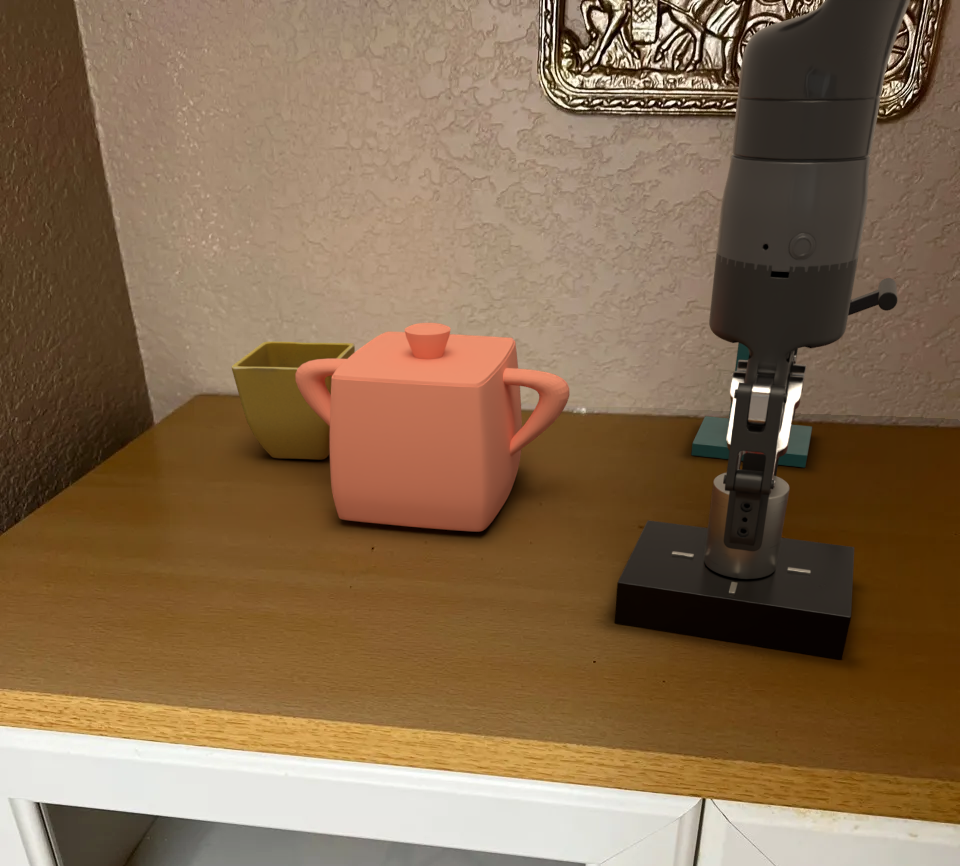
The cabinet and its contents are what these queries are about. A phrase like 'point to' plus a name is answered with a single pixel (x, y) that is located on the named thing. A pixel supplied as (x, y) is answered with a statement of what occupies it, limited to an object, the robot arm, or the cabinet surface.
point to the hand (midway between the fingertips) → (749, 519)
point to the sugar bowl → (428, 425)
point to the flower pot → (285, 397)
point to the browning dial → (741, 560)
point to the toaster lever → (876, 298)
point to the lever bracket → (715, 445)
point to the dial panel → (738, 593)
